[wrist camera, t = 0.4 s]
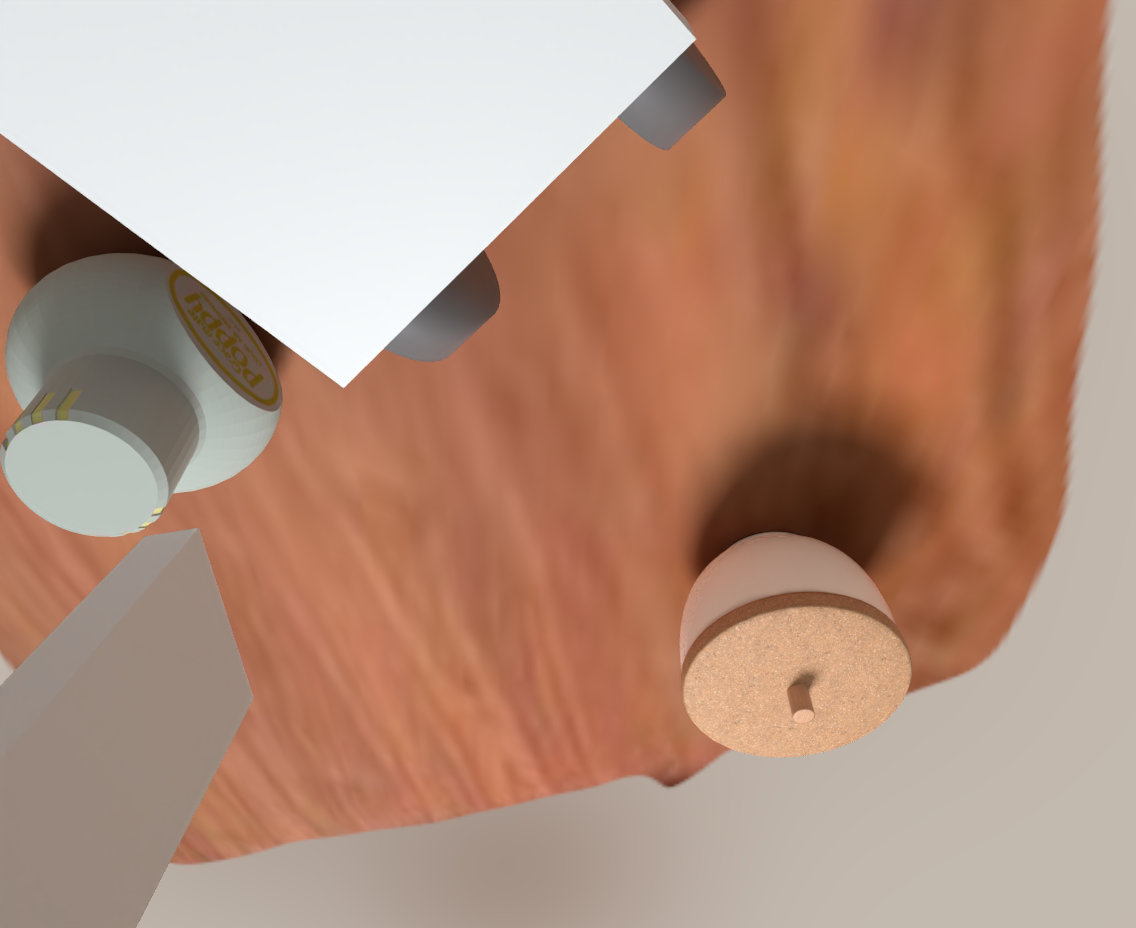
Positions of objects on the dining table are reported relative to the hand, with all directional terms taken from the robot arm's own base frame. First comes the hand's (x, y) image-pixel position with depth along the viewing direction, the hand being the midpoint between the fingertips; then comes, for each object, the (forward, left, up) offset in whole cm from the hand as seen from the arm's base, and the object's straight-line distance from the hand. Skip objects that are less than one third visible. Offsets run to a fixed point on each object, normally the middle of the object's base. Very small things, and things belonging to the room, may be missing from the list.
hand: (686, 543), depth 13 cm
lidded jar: (+12, +25, -28) cm, 40 cm away
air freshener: (+22, -5, -28) cm, 36 cm away
